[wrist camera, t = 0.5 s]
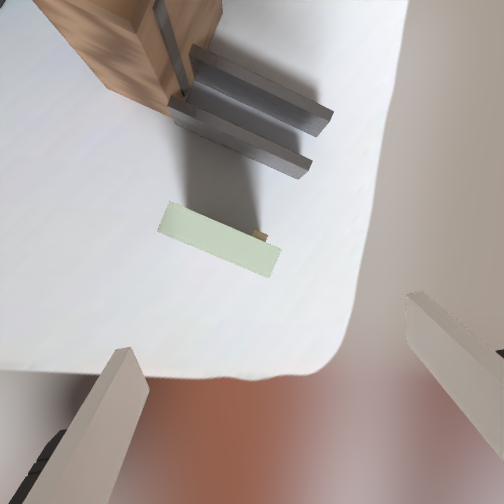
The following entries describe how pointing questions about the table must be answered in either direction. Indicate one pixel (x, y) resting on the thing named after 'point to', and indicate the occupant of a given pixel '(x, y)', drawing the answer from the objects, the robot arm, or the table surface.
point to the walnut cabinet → (137, 42)
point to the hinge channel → (257, 96)
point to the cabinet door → (220, 239)
